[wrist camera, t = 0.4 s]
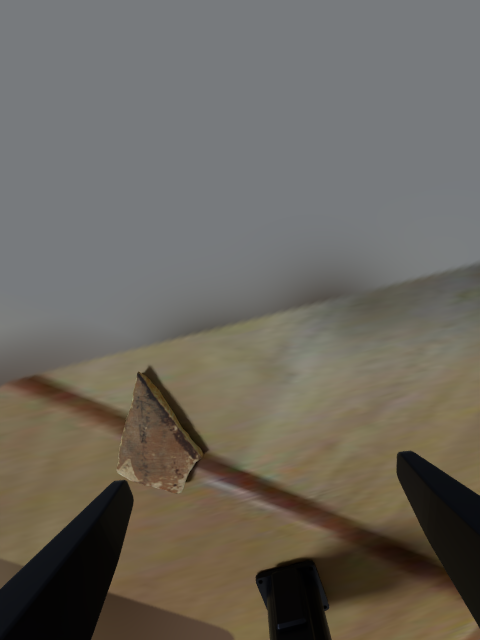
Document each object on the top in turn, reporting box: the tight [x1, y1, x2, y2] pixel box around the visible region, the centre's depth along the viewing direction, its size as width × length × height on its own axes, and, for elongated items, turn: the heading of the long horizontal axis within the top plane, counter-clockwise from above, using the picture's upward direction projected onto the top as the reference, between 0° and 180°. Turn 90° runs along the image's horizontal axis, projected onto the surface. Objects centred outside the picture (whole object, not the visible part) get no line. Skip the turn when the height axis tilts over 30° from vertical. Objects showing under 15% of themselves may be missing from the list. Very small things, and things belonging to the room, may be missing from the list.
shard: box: [117, 372, 203, 493], centre depth 23 cm, size 11×8×2 cm
